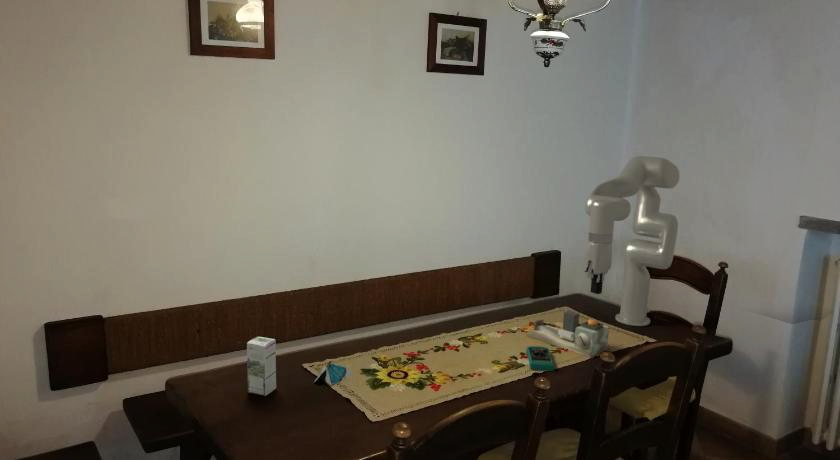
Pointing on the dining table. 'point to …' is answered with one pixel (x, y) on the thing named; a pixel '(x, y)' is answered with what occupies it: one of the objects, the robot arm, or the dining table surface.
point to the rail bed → (547, 340)
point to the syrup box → (261, 365)
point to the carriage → (569, 325)
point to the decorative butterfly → (335, 373)
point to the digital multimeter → (539, 358)
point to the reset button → (592, 322)
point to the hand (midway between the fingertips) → (596, 292)
